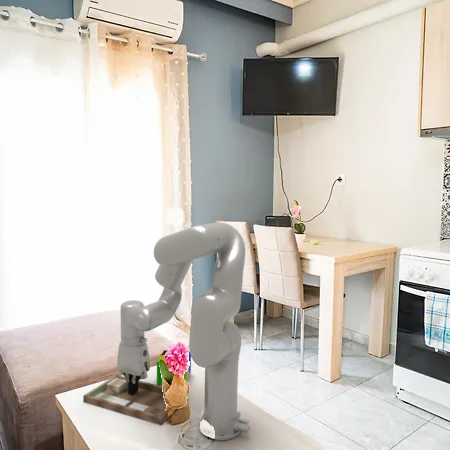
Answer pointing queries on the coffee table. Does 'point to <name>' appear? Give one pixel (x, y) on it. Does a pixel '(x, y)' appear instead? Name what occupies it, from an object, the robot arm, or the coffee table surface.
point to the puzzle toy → (159, 379)
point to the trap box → (132, 401)
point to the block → (117, 386)
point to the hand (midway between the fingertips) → (133, 392)
